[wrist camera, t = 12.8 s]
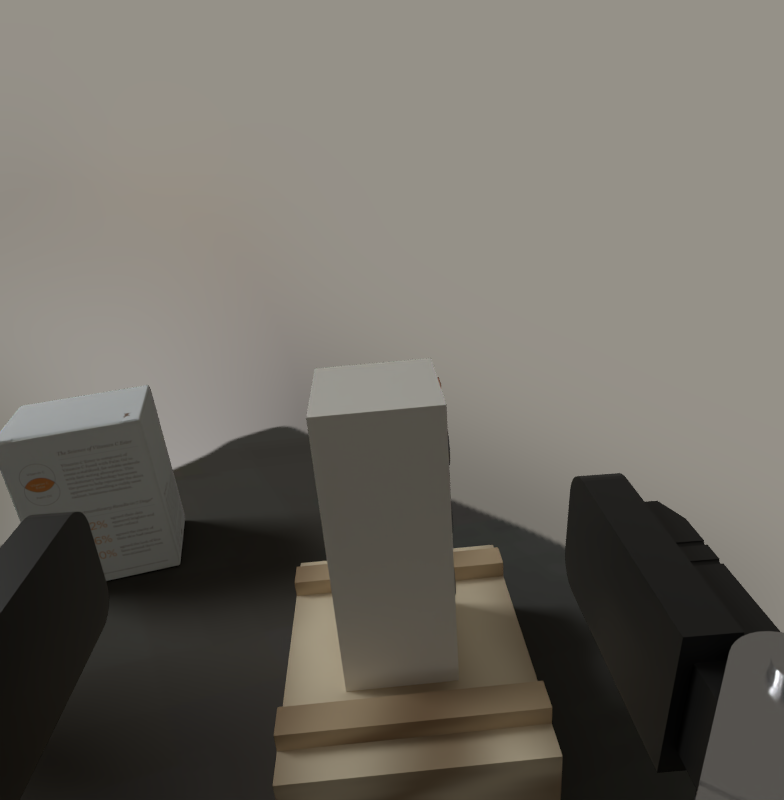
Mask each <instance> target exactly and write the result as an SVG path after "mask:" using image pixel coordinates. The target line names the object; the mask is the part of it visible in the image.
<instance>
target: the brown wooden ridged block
mask: <svg viewBox="0 0 784 800" xmlns="http://www.w3.org/2000/svg"><path fill="white" fill-rule="evenodd" d="M453 559H454V571H455V580H456V595H455V602H456V624H457V645H458V667H459V680H457V681H447V682H437V683H427V684H417V685H407V686H397V687H387V688H377V689H367V690H357V691H347V692H346V688H345V681H344V674H343V667H342V660H341V653H340V646H339V640H338V633H337V626H336V619H335V612H334V605H333V598H332V591H331V585H330V578H329V571H328V564H327V561H319V562H309V563H301V566H300V567H297V569H296V576H295V588H296V594H297V599H296V607H295V615H294V623H293V631H292V638H291V646H290V654H289V662H288V670H287V677H286V685H285V693H284V701H283V707H278V708H277V715H276V722H275V730H274V740H275V744H276V749H277V756H276V763H275V771H274V779H273V790H274V794H275V799H276V800H561V781H562V759H563V756H562V753H561V750H560V747H559V744H558V741H557V738H556V735H555V732H554V729H553V726H552V705H551V702H550V699H549V696H548V693H547V691H546V688H545V685H544V682H543V681H538V680H537V677H536V674H535V671H534V668H533V665H532V662H531V659H530V656H529V653H528V650H527V647H526V644H525V641H524V638H523V635H522V632H521V629H520V626H519V623H518V620H517V617H516V614H515V611H514V608H513V605H512V602H511V599H510V596H509V593H508V589H507V586H506V583H505V580H504V577H503V561H502V558H501V555H500V553H499V550H498V547H497V548H494V547H493V545H485V546H475V547H465V548H454V549H453Z"/></svg>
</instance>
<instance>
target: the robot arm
mask: <svg viewBox="0 0 784 800" xmlns="http://www.w3.org/2000/svg"><path fill="white" fill-rule="evenodd" d="M565 563H566V571H567V576H568V581H569V584H570V587H571V590H572V592H573V594H574V597H575V599H576V601H577V603H578V605H579V607H580V609H581V612H582V614H583V616H584V618H585V620H586V622H587V624H588V626H589V629H590V631H591V633H592V635H593V637H594V639H595V641H596V644H597V646H598V648H599V650H600V652H601V654H602V656H603V659H604V661H605V663H606V665H607V667H608V669H609V671H610V673H611V676H612V678H613V680H614V682H615V684H616V686H617V688H618V691H619V693H620V695H621V697H622V699H623V701H624V703H625V706H626V708H627V710H628V712H629V714H630V716H631V718H632V720H633V723H634V725H635V727H636V729H637V731H638V733H639V735H640V738H641V740H642V742H643V744H644V746H645V748H646V750H647V753H648V755H649V757H650V759H651V761H652V763H653V765H654V767H655V770H656V772H657V773H660V772H671V771H682V770H687V772H688V774H689V776H690V777H691V779H692V781H693V783H694V785H695V787H696V789H697V791H696V796H695V800H784V633H782V632H780V631H779V630H778V628H777V627H776V626H775V625H774V624H773V622H772V621H771V620H770V619H769V618H768V616H767V615H766V614H765V613H764V612H763V611H762V609H761V608H760V607H759V606H758V605H757V603H756V602H755V601H754V600H753V599H752V597H751V596H750V595H749V594H748V593H747V591H746V590H745V589H744V588H743V587H742V585H741V584H740V583H739V582H738V581H737V580H736V578H735V577H734V576H733V575H732V574H731V572H730V571H729V570H728V569H727V568H726V566H725V565H724V564H720V562H719V558H718V557H717V556H716V554H715V553H714V552H713V551H712V550H711V549H710V547H709V546H708V545H704V540H703V539H702V538H701V537H700V536H699V534H698V533H697V532H696V531H695V529H694V528H693V527H692V526H691V525H690V523H689V522H688V521H687V520H686V519H685V518H684V517H682V516H681V515H679V514H677V513H676V512H674V511H673V510H671V509H669V508H668V507H666V506H665V505H663V504H661V503H660V502H658V501H649V502H644V501H643V499H642V498H641V497H640V496H639V494H638V493H637V492H636V490H635V489H634V488H633V486H632V485H631V484H630V483H629V481H628V480H627V479H626V477H625V476H624V475H622V474H620V473H617V474H604V475H590V476H577V477H575V478H574V479H573V481H572V484H571V489H570V500H569V512H568V524H567V536H566V548H565ZM108 609H109V591H108V586H107V582H106V579H105V575H104V572H103V569H102V565H101V562H100V559H99V555H98V552H97V549H96V545H95V542H94V538H93V535H92V532H91V528H90V525H89V522H88V520H87V518H86V517H85V515H84V514H83V513H81V512H63V513H50V514H36V515H30V516H28V517H26V518H25V519H24V520H23V521H22V522H21V523H20V525H19V526H18V527H17V528H16V530H15V531H14V532H13V533H12V535H11V536H10V537H9V538H8V539H7V540H6V542H5V543H4V544H3V545H2V547H1V548H0V800H20V798H21V796H22V794H23V791H24V789H25V787H26V785H27V783H28V781H29V779H30V777H31V775H32V773H33V771H34V769H35V767H36V765H37V763H38V761H39V759H40V757H41V755H42V753H43V751H44V749H45V746H46V744H47V742H48V740H49V738H50V736H51V734H52V732H53V730H54V728H55V726H56V724H57V722H58V720H59V718H60V716H61V714H62V712H63V710H64V708H65V706H66V703H67V701H68V699H69V697H70V695H71V693H72V691H73V689H74V687H75V685H76V683H77V681H78V679H79V677H80V675H81V673H82V671H83V669H84V667H85V665H86V663H87V661H88V658H89V656H90V654H91V652H92V650H93V648H94V646H95V644H96V642H97V640H98V638H99V636H100V634H101V632H102V630H103V628H104V625H105V623H106V620H107V615H108Z"/></svg>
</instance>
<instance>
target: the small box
mask: <svg viewBox="0 0 784 800" xmlns="http://www.w3.org/2000/svg"><path fill="white" fill-rule="evenodd" d="M0 471H1V473H2V476H3V479H4V481H5V484H6V486H7V489H8V491H9V494H10V496H11V498H12V502H13V504H14V507H15V509H16V511H17V514H18V517H19V519H20V522H22V521H23V520H24V519H25V518H26V517H28V516H30V515H36V514H50V513H63V512H81V513H83V514H84V515H85V517H86V518H87V520H88V522H89V525H90V528H91V532H92V535H93V538H94V542H95V545H96V549H97V552H98V555H99V559H100V562H101V565H102V569H103V572H104V575H105V579H106V581H109V580H113V579H118V578H122V577H127V576H132V575H136V574H141V573H145V572H150V571H155V570H159V569H164V568H168V567H173V566H178V565H180V563H181V552H182V543H183V534H184V524H185V514H184V511H183V507H182V503H181V500H180V496H179V492H178V488H177V485H176V481H175V477H174V474H173V470H172V467H171V463H170V459H169V455H168V452H167V448H166V445H165V441H164V437H163V434H162V430H161V426H160V422H159V418H158V414H157V410H156V407H155V404H154V400H153V396H152V393H151V389H150V387H149V386H148V385H146V386H140V387H134V388H127V389H122V390H115V391H110V392H103V393H97V394H91V395H84V396H78V397H72V398H66V399H60V400H54V401H48V402H42V403H36V404H29V405H23V406H20V408H19V409H18V410H17V411H16V412H15V414H14V415H13V416H12V417H11V419H10V420H9V421H8V422H7V424H6V425H5V426H4V427H3V429H2V430H1V431H0Z"/></svg>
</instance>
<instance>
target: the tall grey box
mask: <svg viewBox="0 0 784 800" xmlns="http://www.w3.org/2000/svg"><path fill="white" fill-rule="evenodd" d="M306 420H307V426H308V433H309V440H310V447H311V454H312V461H313V468H314V475H315V482H316V488H317V495H318V502H319V509H320V516H321V523H322V530H323V537H324V543H325V550H326V557H327V564H328V571H329V578H330V585H331V591H332V598H333V605H334V612H335V619H336V626H337V633H338V640H339V646H340V653H341V660H342V667H343V674H344V681H345V688H346V692H347V691H357V690H367V689H377V688H387V687H397V686H407V685H417V684H427V683H437V682H447V681H457V680H459V667H458V645H457V624H456V602H455V595H456V580H455V571H454V559H453V537H452V534H453V515H452V506H451V495H450V473H449V465H450V447H449V437H448V429H447V407H446V402H445V399H444V396H443V393H442V390H441V383H440V380H439V377H437V375H436V372H435V369H434V366H433V363H432V360H431V358H426V359H415V360H404V361H393V362H382V363H372V364H360V365H349V366H338V367H327V368H317V369H315V370H314V376H313V381H312V387H311V393H310V399H309V405H308V411H307V416H306Z"/></svg>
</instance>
